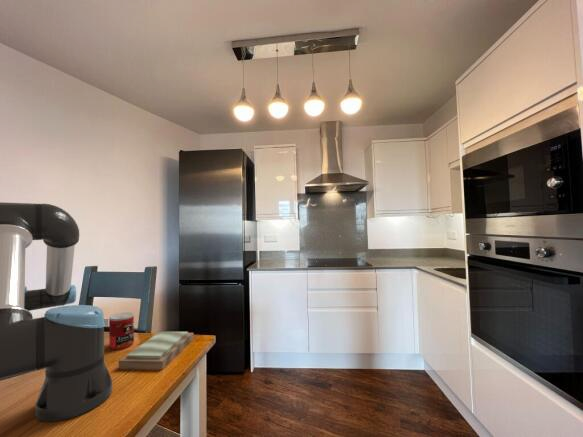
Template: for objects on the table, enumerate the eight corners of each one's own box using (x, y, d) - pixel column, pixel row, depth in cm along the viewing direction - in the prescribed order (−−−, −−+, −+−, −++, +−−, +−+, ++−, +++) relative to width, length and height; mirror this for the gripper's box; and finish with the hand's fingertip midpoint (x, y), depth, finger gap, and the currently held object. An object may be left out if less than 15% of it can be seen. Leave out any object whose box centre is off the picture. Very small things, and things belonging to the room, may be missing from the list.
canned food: (117, 352, 95) (116, 320, 96) (104, 347, 99) (104, 317, 100) (138, 343, 102) (138, 313, 102) (126, 339, 106) (126, 311, 106)
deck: (162, 369, 83) (162, 358, 83) (118, 369, 84) (118, 357, 84) (193, 339, 105) (193, 330, 105) (158, 339, 106) (158, 330, 106)
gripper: (66, 327, 113) (118, 326, 113) (3, 356, 88) (69, 354, 88) (66, 309, 113) (117, 307, 113) (3, 332, 88) (69, 331, 88)
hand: (96, 328), depth 101 cm, fingers open, 13 cm apart
